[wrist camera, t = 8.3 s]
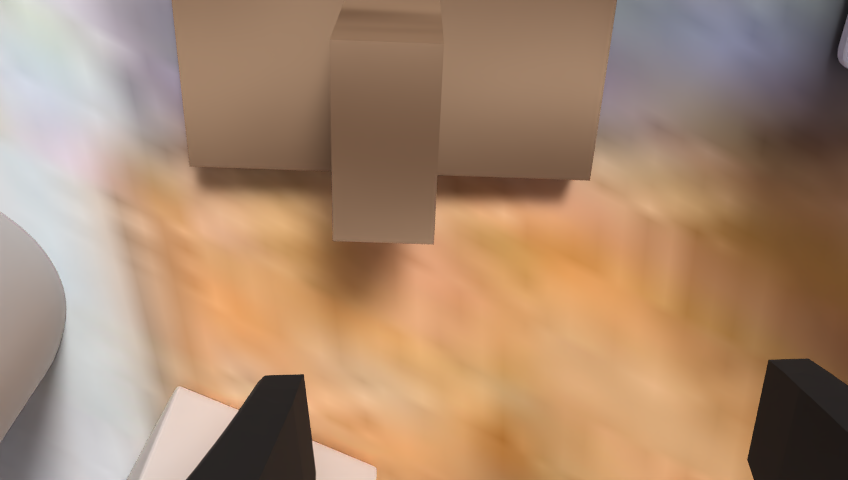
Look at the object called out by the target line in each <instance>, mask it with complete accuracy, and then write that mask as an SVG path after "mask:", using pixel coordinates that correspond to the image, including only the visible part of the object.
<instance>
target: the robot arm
mask: <svg viewBox="0 0 848 480" xmlns="http://www.w3.org/2000/svg"><path fill="white" fill-rule="evenodd" d="M837 57H838V59H839V62H840V63H841V64H842V65H843V66H844V67H845V68H847V69H848V16H847V19H846V23H845V26H844V29H843V33H842V36H841V40H840V43H839V47H838V55H837ZM747 460H748V463H749V466H750V469H751V472H752V475H753V478H754V480H848V386H847V385H846V384H845V383H843V382H842V381H840V380H839V379H838V378H836V377H835V376H833V375H832V374H831V373H829V372H828V371H826V370H825V369H823V368H822V367H820V366H819V365H817V364H816V363H814V362H813V361H811V360H810V359H781V360H768V365H767V370H766V374H765V379H764V384H763V388H762V393H761V398H760V403H759V407H758V412H757V417H756V422H755V426H754V431H753V436H752V440H751V445H750V450H749V455H748V459H747ZM186 480H316V468H315V460H314V452H313V444H312V436H311V428H310V420H309V413H308V405H307V397H306V389H305V381H304V374H301V375H269V376H264V377H263V378H262V379H261V380H260V381H259V382H258V383H257V385H256V386H255V387H254V389H253V390H252V392H251V393H250V395H249V396H248V398H247V399H246V401H245V402H244V404H243V405H242V407H241V408H240V409H239V411H238V412H237V414H236V415H235V417H234V418H233V419H232V421H231V422H230V423H229V425H228V426H227V428H226V429H225V430H224V432H223V433H222V434H221V436H220V437H219V438H218V440H217V441H216V442H215V443H214V445H213V446H212V447H211V449H210V450H209V451H208V452H207V454H206V455H205V456H204V458H203V459H202V460H201V461H200V463H199V464H198V465H197V467H196V468H195V469H194V470H193V472H192V473H191V474H190V475H189V476H188V478H187V479H186Z"/></svg>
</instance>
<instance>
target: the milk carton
mask: <svg viewBox="0 0 848 480" xmlns="http://www.w3.org/2000/svg"><path fill="white" fill-rule="evenodd" d="M238 411H239V410H238V409H235V408H233V407H230V406H228V405H225V404H223V403H221V402H218V401H216V400H213V399H211V398H208V397H206V396H203V395H201V394H199V393H196V392H194V391H191V390H189V389H186V388H184V387H181V386H178V387H177V388H176V389H175V391H174V392H173V394H172V396H171V397H170V399H169V401H168V403H167V405H166V407H165V408H164V410H163V412H162V414H161V416H160V418H159V420H158V422H157V424H156V425H155V427H154V429H153V431H152V433H151V435H150V437H149V439H148V440H147V442H146V444H145V446H144V448H143V450H142V452H141V454H140V455H139V457H138V459H137V461H136V463H135V465H134V467H133V469H132V470H131V472H130V474H129V476H128V478H127V480H186V479H187V478H188V476H189V475H190V474H191V473H192V472H193V470H194V469H195V468H196V467H197V465H198V464H199V463H200V461H201V460H202V459H203V458H204V456H205V455H206V454H207V452H208V451H209V450H210V449H211V447H212V446H213V445H214V443H215V442H216V441H217V440H218V438H219V437H220V436H221V434H222V433H223V432H224V430H225V429H226V428H227V426H228V425H229V423H230V422H231V421H232V419H233V418H234V417H235V415H236V414H237V412H238ZM312 444H313V452H314V460H315V468H316V480H376V478H377V469H376V467H374V466H373V465H370V464H368V463H365V462H363V461H361V460H358V459H356V458H353V457H351V456H349V455H346V454H344V453H341V452H339V451H337V450H334V449H332V448H329V447H327V446H325V445H322V444H320V443H317V442H315V441H313V440H312Z"/></svg>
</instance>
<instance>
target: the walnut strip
mask: <svg viewBox="0 0 848 480" xmlns="http://www.w3.org/2000/svg"><path fill="white" fill-rule="evenodd" d="M616 3H617V0H172V8H173V17H174V26H175V35H176V45H177V54H178V63H179V72H180V82H181V91H182V100H183V109H184V119H185V128H186V137H187V146H188V156H189V165H190V166H192V167H220V168H249V169H277V170H306V171H332V222H333V241H346V242H376V243H406V244H434V230H435V211H436V191H437V175H448V176H477V177H505V178H534V179H562V180H590V176H591V169H592V162H593V156H594V149H595V142H596V136H597V129H598V122H599V116H600V109H601V103H602V96H603V89H604V83H605V76H606V69H607V63H608V56H609V49H610V43H611V36H612V29H613V23H614V16H615V9H616Z"/></svg>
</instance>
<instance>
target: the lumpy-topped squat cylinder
mask: <svg viewBox="0 0 848 480" xmlns="http://www.w3.org/2000/svg"><path fill="white" fill-rule="evenodd" d="M65 319H66V298H65V292H64V288H63V285H62V282H61V279H60V277H59V275H58V272H57V270H56V268H55V267H54V265H53V263H52V261H51V260H50V258H49V257H48V255H47V254H46V253H45V251H44V250H43V249H42V247H41V246H40V245H39V244H38V243H37V242H36V241H35V240H34V239H33V238H32V237H31V236H30V235H29V234H28V233H27V232H26V231H25V230H24V229H23V228H22V227H20V226H19V225H18V224H17V223H15V222H14V221H13V220H11V219H10V218H9V217H7V216H6V215H4V214H3V213H2V212H0V443H1V441H2V440H3V438H4V436H5V435H6V433H7V432H8V430H9V429H10V427H11V426H12V424H13V423H14V421H15V420H16V418H17V417H18V415H19V414H20V412H21V411H22V409H23V407H24V406H25V404H26V403H27V401H28V400H29V398H30V397H31V395H32V394H33V392H34V391H35V389H36V388H37V386H38V385H39V383H40V382H41V380H42V378H43V377H44V375H45V374H46V372H47V371H48V369H49V368H50V366H51V364H52V363H53V361H54V358H55V356H56V354H57V351H58V348H59V345H60V342H61V339H62V335H63V331H64V326H65Z"/></svg>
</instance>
